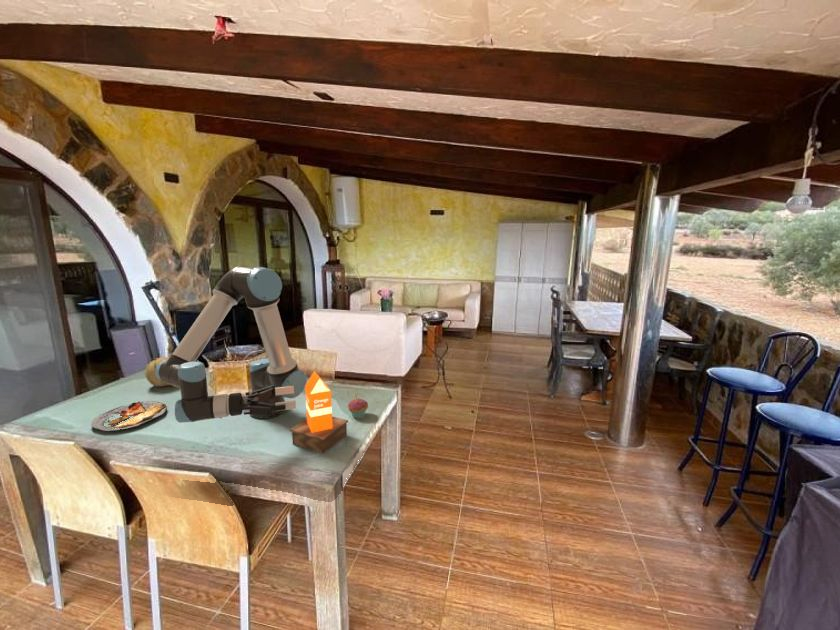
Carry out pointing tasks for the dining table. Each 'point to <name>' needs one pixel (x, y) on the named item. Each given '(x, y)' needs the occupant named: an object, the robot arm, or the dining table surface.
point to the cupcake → (357, 407)
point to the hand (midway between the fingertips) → (294, 396)
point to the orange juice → (318, 404)
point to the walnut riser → (319, 435)
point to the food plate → (137, 410)
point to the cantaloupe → (151, 372)
